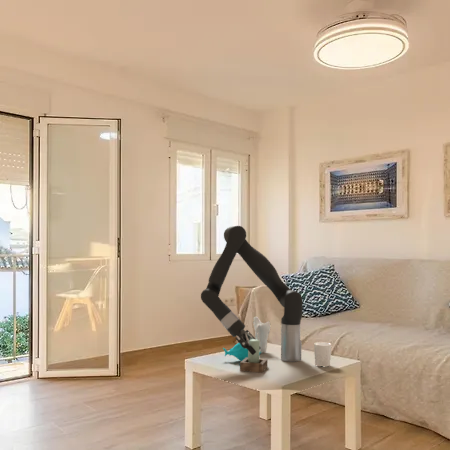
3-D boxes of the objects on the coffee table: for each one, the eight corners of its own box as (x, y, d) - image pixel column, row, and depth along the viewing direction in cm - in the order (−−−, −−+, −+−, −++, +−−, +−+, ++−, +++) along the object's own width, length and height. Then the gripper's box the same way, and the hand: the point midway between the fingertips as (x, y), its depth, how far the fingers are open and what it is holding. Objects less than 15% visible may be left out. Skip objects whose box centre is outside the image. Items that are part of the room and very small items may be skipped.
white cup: (331, 364, 224) (331, 342, 224) (331, 368, 216) (331, 345, 217) (314, 362, 226) (314, 341, 226) (313, 366, 218) (313, 344, 219)
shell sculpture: (271, 353, 244) (271, 318, 245) (255, 354, 242) (256, 318, 243) (266, 350, 252) (266, 315, 253) (251, 350, 250) (251, 316, 251)
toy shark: (260, 364, 221) (261, 341, 222) (222, 363, 222) (222, 340, 222) (260, 359, 231) (260, 337, 231) (222, 358, 232) (223, 336, 232)
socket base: (240, 370, 210) (240, 362, 210) (246, 365, 219) (246, 357, 219) (262, 372, 207) (262, 364, 207) (267, 367, 216) (267, 359, 216)
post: (246, 368, 211) (247, 341, 212) (249, 365, 216) (249, 338, 216) (257, 369, 210) (258, 342, 210) (260, 366, 215) (260, 339, 215)
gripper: (233, 320, 209) (259, 349, 205) (242, 316, 223) (266, 343, 219) (222, 332, 211) (247, 360, 207) (231, 327, 224) (255, 353, 220)
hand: (257, 351), depth 213 cm, fingers open, 8 cm apart
